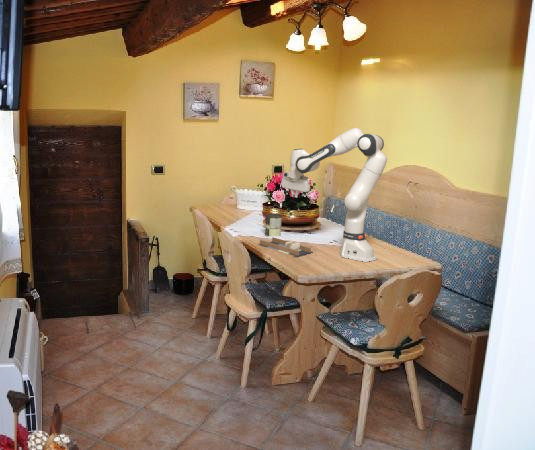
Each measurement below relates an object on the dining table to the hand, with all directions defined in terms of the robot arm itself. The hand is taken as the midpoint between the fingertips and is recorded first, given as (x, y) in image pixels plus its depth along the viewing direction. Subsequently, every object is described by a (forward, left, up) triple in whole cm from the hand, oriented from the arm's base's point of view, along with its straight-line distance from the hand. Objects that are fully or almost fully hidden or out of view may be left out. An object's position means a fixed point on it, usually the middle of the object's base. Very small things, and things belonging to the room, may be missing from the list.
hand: (294, 197), depth 335 cm
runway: (-9, +17, -29) cm, 35 cm away
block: (-15, +17, -28) cm, 36 cm away
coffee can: (+18, -2, -29) cm, 34 cm away
